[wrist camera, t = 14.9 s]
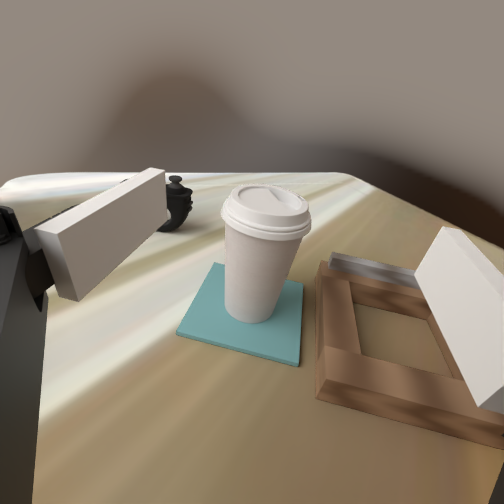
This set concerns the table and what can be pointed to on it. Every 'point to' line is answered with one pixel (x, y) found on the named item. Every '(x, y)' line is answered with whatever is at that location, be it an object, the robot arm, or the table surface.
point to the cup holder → (383, 372)
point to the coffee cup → (260, 247)
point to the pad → (245, 334)
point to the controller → (176, 203)
